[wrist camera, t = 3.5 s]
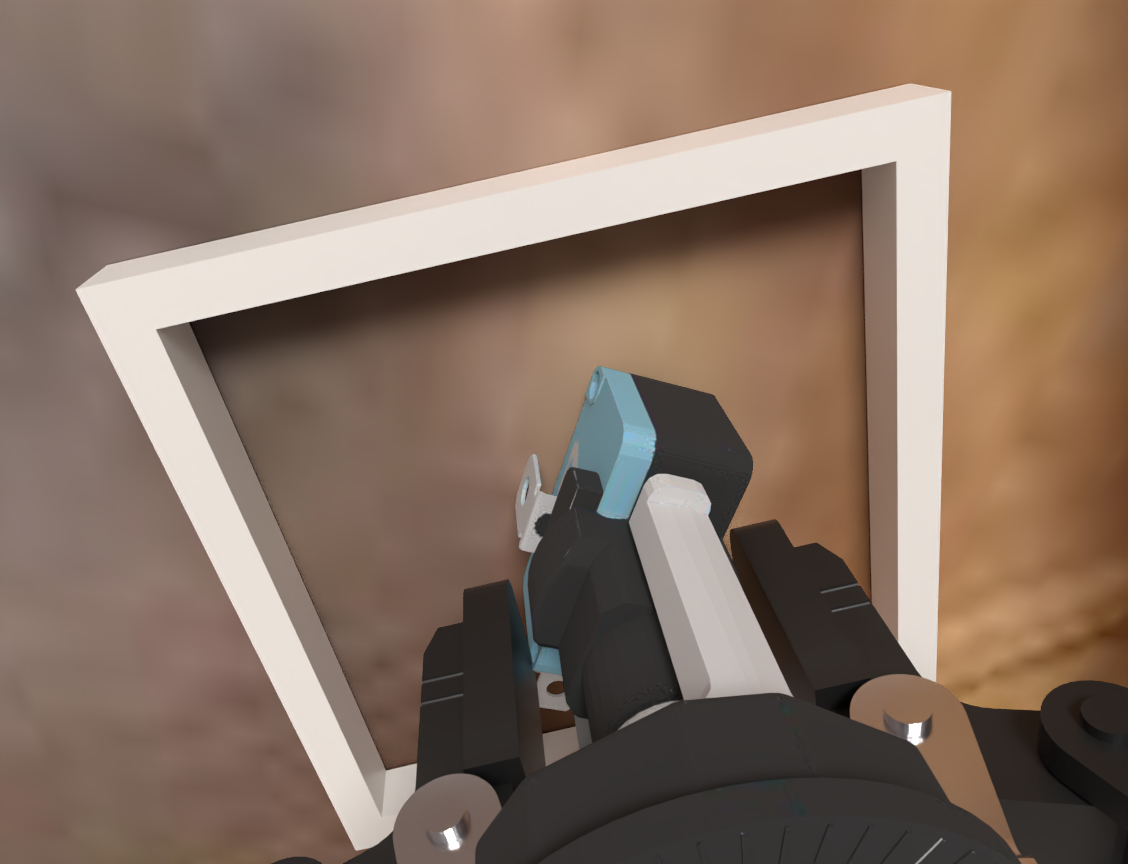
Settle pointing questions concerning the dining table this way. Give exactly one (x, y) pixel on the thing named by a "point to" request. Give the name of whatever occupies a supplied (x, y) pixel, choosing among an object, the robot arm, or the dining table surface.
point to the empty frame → (513, 219)
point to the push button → (688, 674)
